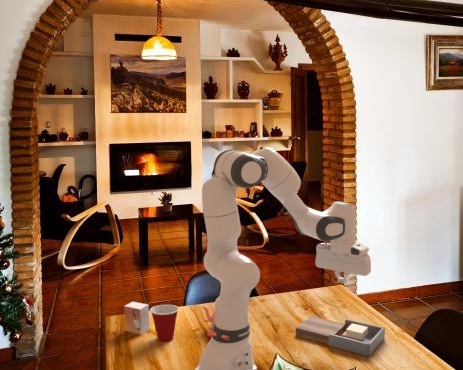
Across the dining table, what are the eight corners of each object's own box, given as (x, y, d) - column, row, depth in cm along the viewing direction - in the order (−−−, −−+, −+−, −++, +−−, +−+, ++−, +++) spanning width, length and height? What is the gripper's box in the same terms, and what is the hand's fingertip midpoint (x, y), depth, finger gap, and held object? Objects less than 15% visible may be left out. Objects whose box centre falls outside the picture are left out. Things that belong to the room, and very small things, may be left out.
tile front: (358, 345, 177) (358, 338, 177) (342, 341, 181) (342, 334, 180) (363, 338, 182) (363, 332, 182) (348, 334, 186) (348, 328, 185)
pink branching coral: (244, 337, 187) (244, 311, 185) (198, 335, 189) (197, 309, 188) (248, 324, 198) (248, 299, 196) (204, 322, 201) (203, 297, 199)
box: (369, 357, 170) (369, 344, 169) (328, 346, 178) (328, 334, 178) (384, 339, 183) (384, 327, 182) (345, 329, 191) (345, 318, 190)
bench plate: (331, 344, 179) (331, 337, 179) (295, 335, 187) (295, 327, 187) (345, 331, 190) (345, 324, 189) (310, 322, 198) (311, 315, 197)
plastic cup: (183, 332, 191) (182, 303, 190) (175, 345, 181) (174, 314, 179) (156, 331, 193) (155, 301, 191) (147, 344, 183) (145, 313, 181)
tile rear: (362, 339, 176) (362, 333, 176) (345, 335, 179) (346, 329, 179) (367, 333, 181) (367, 327, 180) (352, 329, 184) (352, 323, 184)
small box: (124, 331, 194) (123, 305, 192) (133, 326, 198) (132, 300, 197) (141, 335, 190) (139, 309, 188) (150, 329, 195) (148, 304, 193)
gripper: (312, 243, 182) (312, 280, 184) (366, 252, 171) (365, 290, 172) (320, 240, 187) (319, 275, 189) (373, 248, 176) (372, 285, 178)
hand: (342, 282), depth 181 cm, fingers closed
